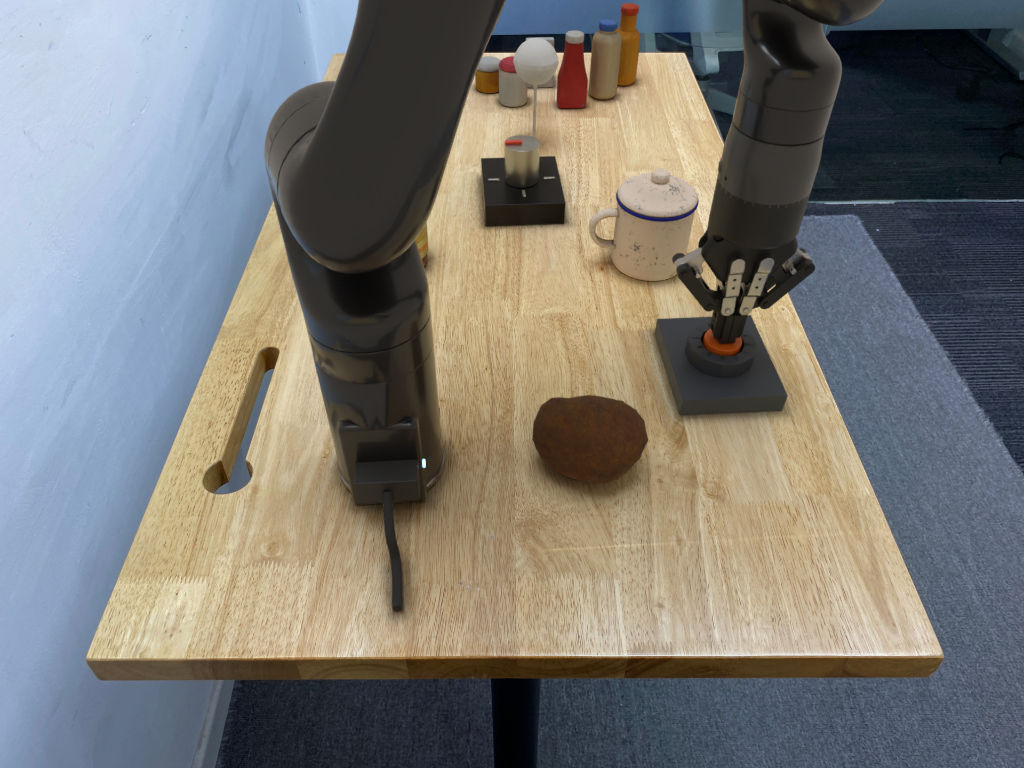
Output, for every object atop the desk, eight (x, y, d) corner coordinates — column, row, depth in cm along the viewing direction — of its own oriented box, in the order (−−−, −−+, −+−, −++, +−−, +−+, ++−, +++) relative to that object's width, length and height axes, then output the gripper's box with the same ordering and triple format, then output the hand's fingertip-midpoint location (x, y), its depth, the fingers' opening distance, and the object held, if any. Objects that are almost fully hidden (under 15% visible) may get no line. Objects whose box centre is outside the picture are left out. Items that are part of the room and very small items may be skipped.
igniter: (782, 411, 74) (792, 381, 71) (679, 416, 73) (686, 386, 71) (746, 330, 82) (754, 301, 80) (654, 334, 82) (659, 305, 79)
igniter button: (742, 363, 75) (746, 349, 74) (706, 365, 75) (709, 351, 73) (732, 339, 77) (736, 325, 76) (697, 340, 77) (700, 327, 76)
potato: (532, 434, 72) (534, 372, 66) (637, 437, 71) (648, 375, 66) (531, 498, 66) (533, 436, 61) (645, 501, 66) (657, 440, 61)
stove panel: (564, 223, 97) (565, 201, 95) (485, 226, 97) (484, 204, 95) (554, 175, 106) (555, 154, 104) (481, 178, 105) (480, 156, 103)
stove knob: (536, 169, 101) (537, 131, 97) (541, 186, 98) (542, 148, 94) (502, 171, 101) (502, 133, 97) (506, 188, 97) (506, 150, 94)
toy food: (632, 74, 130) (641, -1, 122) (645, 108, 121) (656, 28, 113) (474, 77, 129) (472, 1, 121) (476, 111, 120) (473, 31, 112)
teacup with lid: (674, 237, 95) (690, 149, 87) (695, 281, 89) (714, 191, 81) (578, 243, 94) (585, 155, 86) (593, 288, 88) (601, 197, 80)
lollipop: (562, 142, 113) (567, 37, 102) (541, 159, 109) (545, 51, 99) (526, 132, 115) (528, 27, 105) (505, 147, 112) (504, 41, 101)
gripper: (696, 204, 60) (665, 367, 72) (862, 198, 60) (803, 361, 73) (674, 157, 65) (649, 316, 77) (827, 152, 66) (778, 311, 78)
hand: (724, 338), depth 75 cm, fingers closed
